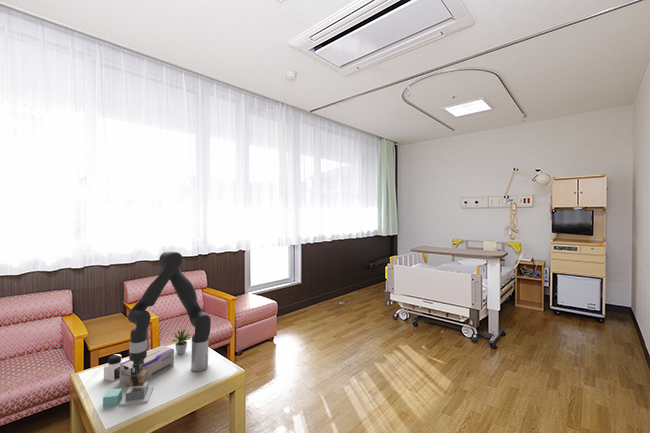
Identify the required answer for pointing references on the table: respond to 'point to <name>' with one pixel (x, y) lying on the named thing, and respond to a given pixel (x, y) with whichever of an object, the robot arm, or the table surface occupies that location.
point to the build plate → (124, 403)
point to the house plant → (181, 341)
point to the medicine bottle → (113, 368)
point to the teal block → (112, 397)
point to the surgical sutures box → (150, 364)
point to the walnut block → (139, 378)
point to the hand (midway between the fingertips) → (137, 381)
